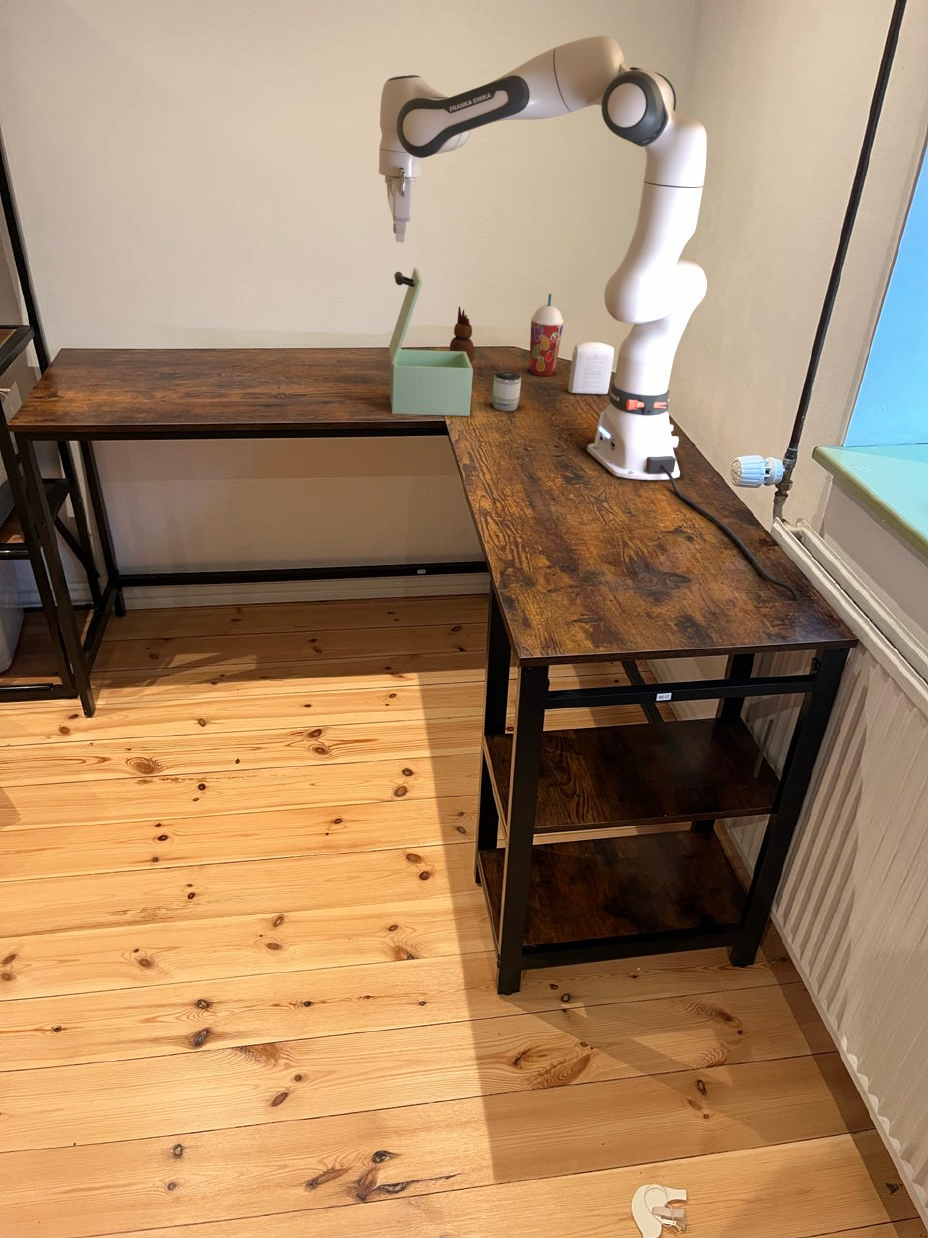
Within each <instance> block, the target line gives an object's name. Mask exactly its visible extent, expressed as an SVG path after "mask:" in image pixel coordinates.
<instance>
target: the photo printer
mask: <svg viewBox="0 0 928 1238" xmlns="http://www.w3.org/2000/svg"><path fill="white" fill-rule="evenodd" d="M614 354H615V348H614V347H613V346H612V345H610V344H607V343H603V342H599V341H588V342H582V343H578V344H575V346H574V348H573V352H572V357H571V365H570V370H569V371H570V372H569V379H568V386H567V391H568V392H569V393H571V394H588V395H591V394H593V395H608V393H609V390H610V382H611V376H612V369H613V364H614V357H615V355H614Z"/></svg>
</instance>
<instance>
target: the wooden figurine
mask: <svg viewBox="0 0 928 1238" xmlns="http://www.w3.org/2000/svg"><path fill="white" fill-rule="evenodd" d="M453 335H454V337H453V338H452V339H451V341H450V343H449V351H459V352H466V353H467V356H468V358H469V361H470V363H471V364H472V363H473V361H474V357H475V345H474V342H473V341H472V339H471V337H472V335H473V326H472V325H471V323H470V318H469V317H468V314H465V309H462V310H461V306H458V310H457V323H455V325H454V329H453Z"/></svg>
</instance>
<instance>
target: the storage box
mask: <svg viewBox="0 0 928 1238" xmlns="http://www.w3.org/2000/svg"><path fill="white" fill-rule="evenodd" d="M389 356H390V357H389V392H388V395H389V401H390V407H391V414H392V415H421V416H423V415H425V416H457V417H459V416H461V417H470V415H471V402H472V389H473V374H474V369H473V365H472V363H470V361H469V358H468V356H467V353H466V352H459V351H450V350H431V349H430V350H427V349H403V348H401V349H400V352H399V356H398V359H397V362H396V365H394V364H392V360H391V355H389Z"/></svg>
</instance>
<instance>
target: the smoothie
mask: <svg viewBox="0 0 928 1238" xmlns="http://www.w3.org/2000/svg"><path fill="white" fill-rule="evenodd" d="M551 303H552V293H549V294H548V299H547V304H544V305H541V306H539V307H538V308H537V309H536V310H535V312H534V313H533V315H532V317H530V338H529V339H530V340H529V360H528V361H529V362H528V363H529V364H528V365H529V368H530V372H531V373H532V375H535V376H540V377H549V376H551V375H553V373H554V371H555V370H556V368H557V362H558V356H559V351H560V345H561V339H562V333H563V330H564V329H563V328H564V323H565V320H564V319H563V316H562V313H561V311H560V309H558V308H557V307H556V306H554V305H552V304H551Z"/></svg>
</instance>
